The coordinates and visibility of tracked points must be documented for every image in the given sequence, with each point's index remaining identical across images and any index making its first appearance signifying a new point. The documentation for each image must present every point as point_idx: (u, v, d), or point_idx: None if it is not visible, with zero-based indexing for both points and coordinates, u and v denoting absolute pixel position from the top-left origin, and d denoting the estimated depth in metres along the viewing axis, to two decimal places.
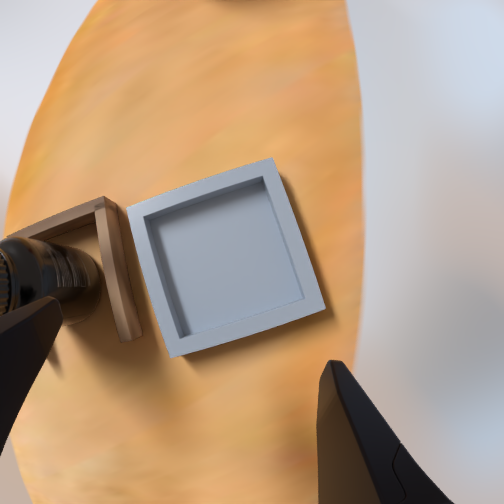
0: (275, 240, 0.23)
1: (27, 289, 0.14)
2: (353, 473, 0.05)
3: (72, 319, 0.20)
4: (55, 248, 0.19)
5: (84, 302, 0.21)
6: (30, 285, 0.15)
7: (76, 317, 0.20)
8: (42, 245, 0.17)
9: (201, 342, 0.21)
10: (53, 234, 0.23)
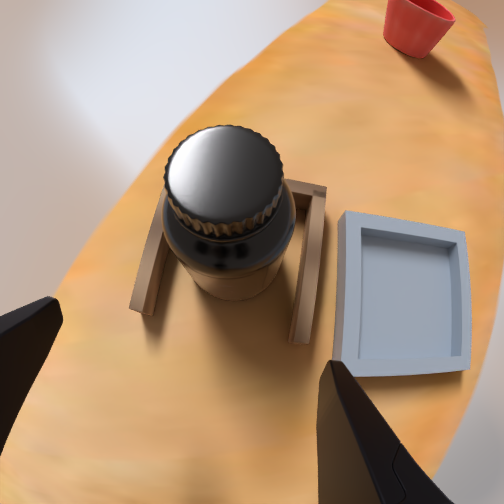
0: (446, 300, 0.21)
1: (278, 223, 0.14)
2: (353, 473, 0.05)
3: (247, 292, 0.19)
4: None
5: (269, 280, 0.19)
6: (284, 221, 0.14)
7: (249, 292, 0.19)
8: None
9: (375, 368, 0.18)
10: None
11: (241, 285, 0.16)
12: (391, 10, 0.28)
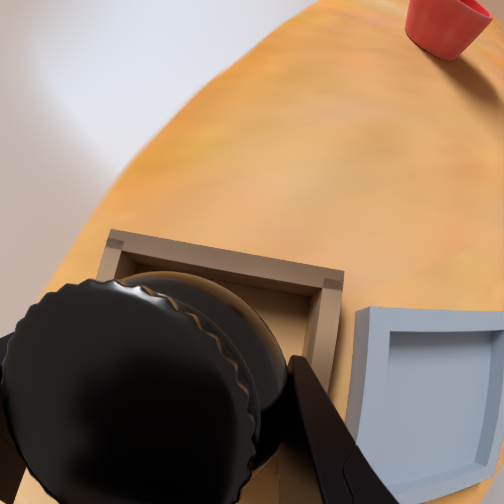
0: (481, 400, 0.14)
1: None
2: (303, 473, 0.05)
3: None
4: None
5: None
6: (264, 444, 0.06)
7: None
8: None
9: None
10: (203, 274, 0.16)
11: None
12: (417, 0, 0.20)
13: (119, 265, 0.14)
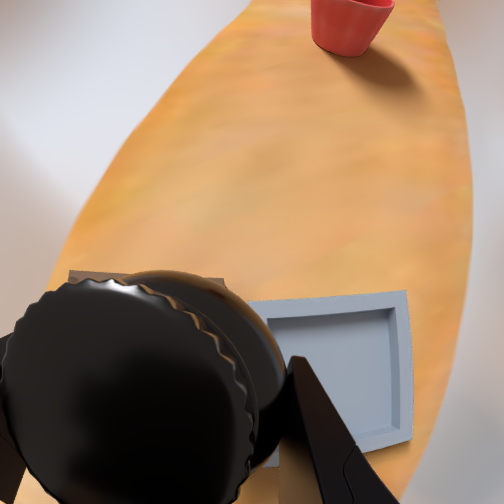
0: (384, 370, 0.20)
1: None
2: (303, 473, 0.05)
3: None
4: None
5: None
6: (263, 443, 0.06)
7: None
8: None
9: None
10: None
11: None
12: (314, 7, 0.26)
13: None
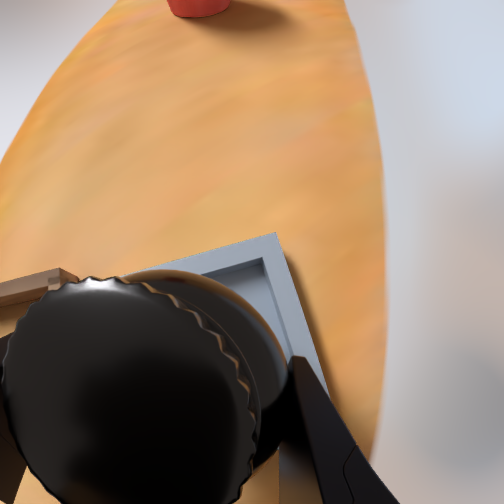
0: None
1: None
2: (303, 473, 0.05)
3: None
4: None
5: None
6: (265, 442, 0.06)
7: None
8: None
9: None
10: (6, 302, 0.17)
11: None
12: None
13: None
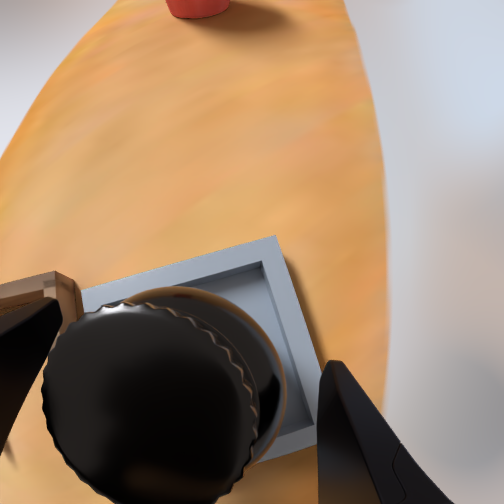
0: (275, 347, 0.17)
1: None
2: (353, 473, 0.05)
3: None
4: None
5: None
6: (263, 435, 0.07)
7: None
8: None
9: None
10: (2, 305, 0.16)
11: None
12: None
13: None
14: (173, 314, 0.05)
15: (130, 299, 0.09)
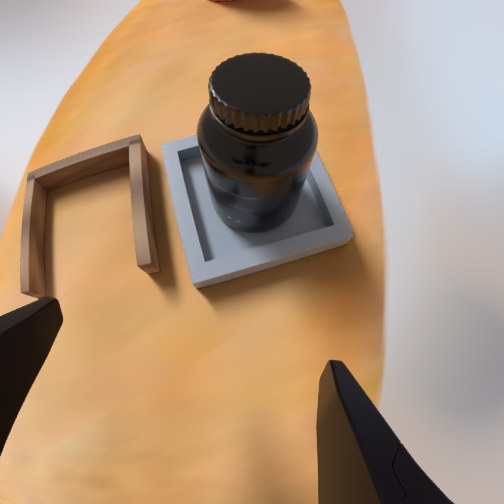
0: None
1: (305, 134, 0.14)
2: (353, 473, 0.05)
3: (270, 216, 0.19)
4: None
5: (291, 207, 0.20)
6: (309, 134, 0.15)
7: (272, 217, 0.20)
8: None
9: (228, 265, 0.20)
10: (77, 175, 0.24)
11: (268, 199, 0.17)
12: None
13: (34, 186, 0.22)
14: (275, 55, 0.13)
15: None
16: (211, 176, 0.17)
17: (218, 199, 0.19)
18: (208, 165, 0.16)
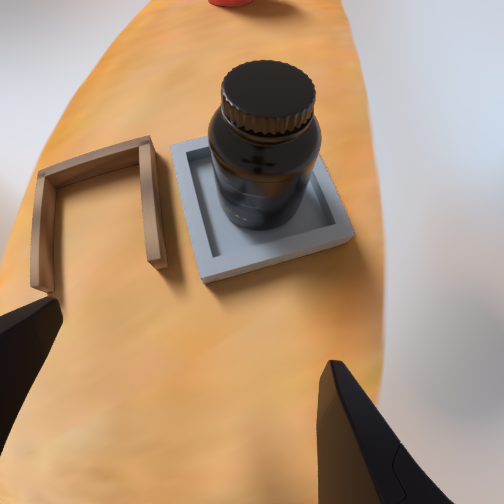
0: None
1: (309, 137, 0.16)
2: (353, 473, 0.05)
3: (275, 214, 0.21)
4: None
5: (295, 206, 0.21)
6: (313, 137, 0.16)
7: (277, 216, 0.21)
8: None
9: (235, 260, 0.21)
10: (87, 173, 0.25)
11: (274, 197, 0.18)
12: None
13: (45, 184, 0.23)
14: (282, 62, 0.14)
15: None
16: (221, 175, 0.18)
17: (226, 197, 0.20)
18: (218, 165, 0.17)
